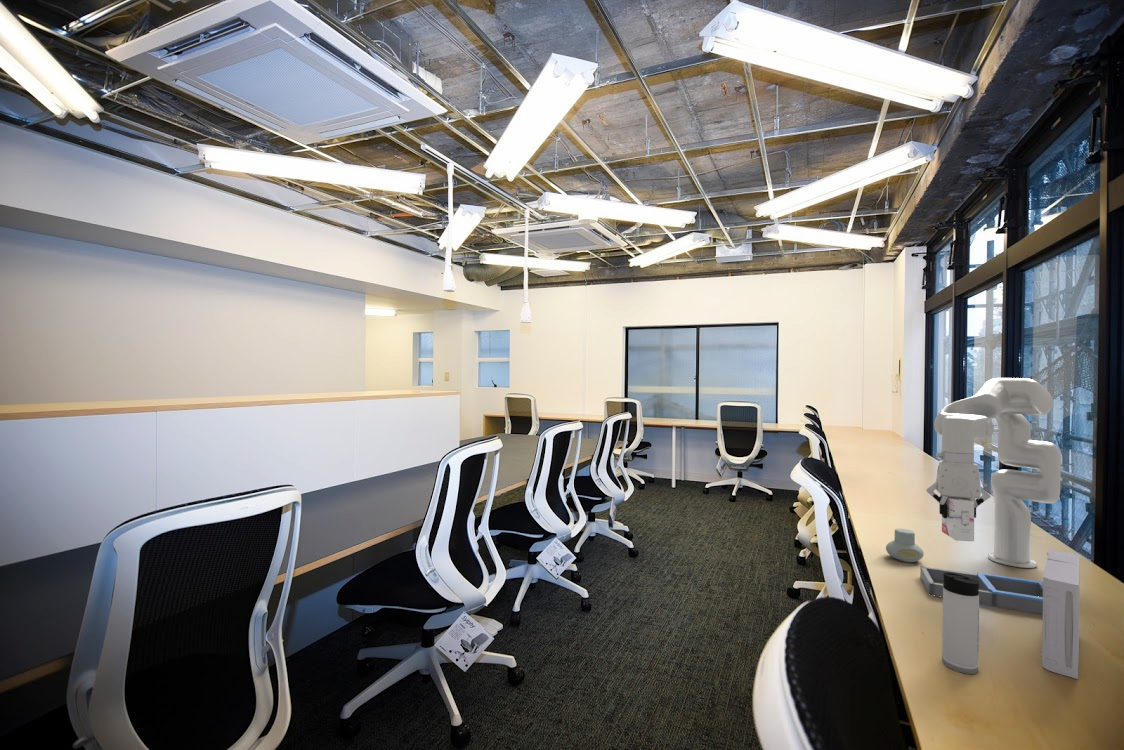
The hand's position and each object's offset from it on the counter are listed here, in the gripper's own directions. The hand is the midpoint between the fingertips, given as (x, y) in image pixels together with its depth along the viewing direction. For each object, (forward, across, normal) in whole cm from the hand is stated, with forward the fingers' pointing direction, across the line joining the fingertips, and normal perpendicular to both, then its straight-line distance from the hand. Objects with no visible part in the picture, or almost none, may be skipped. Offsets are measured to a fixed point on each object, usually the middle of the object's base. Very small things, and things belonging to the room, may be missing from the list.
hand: (957, 517), depth 153 cm
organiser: (+22, +7, -1) cm, 23 cm away
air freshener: (+22, -10, +24) cm, 34 cm away
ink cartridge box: (+6, 0, 0) cm, 6 cm away
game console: (+22, +14, -31) cm, 40 cm away
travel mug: (+21, -9, -50) cm, 55 cm away
